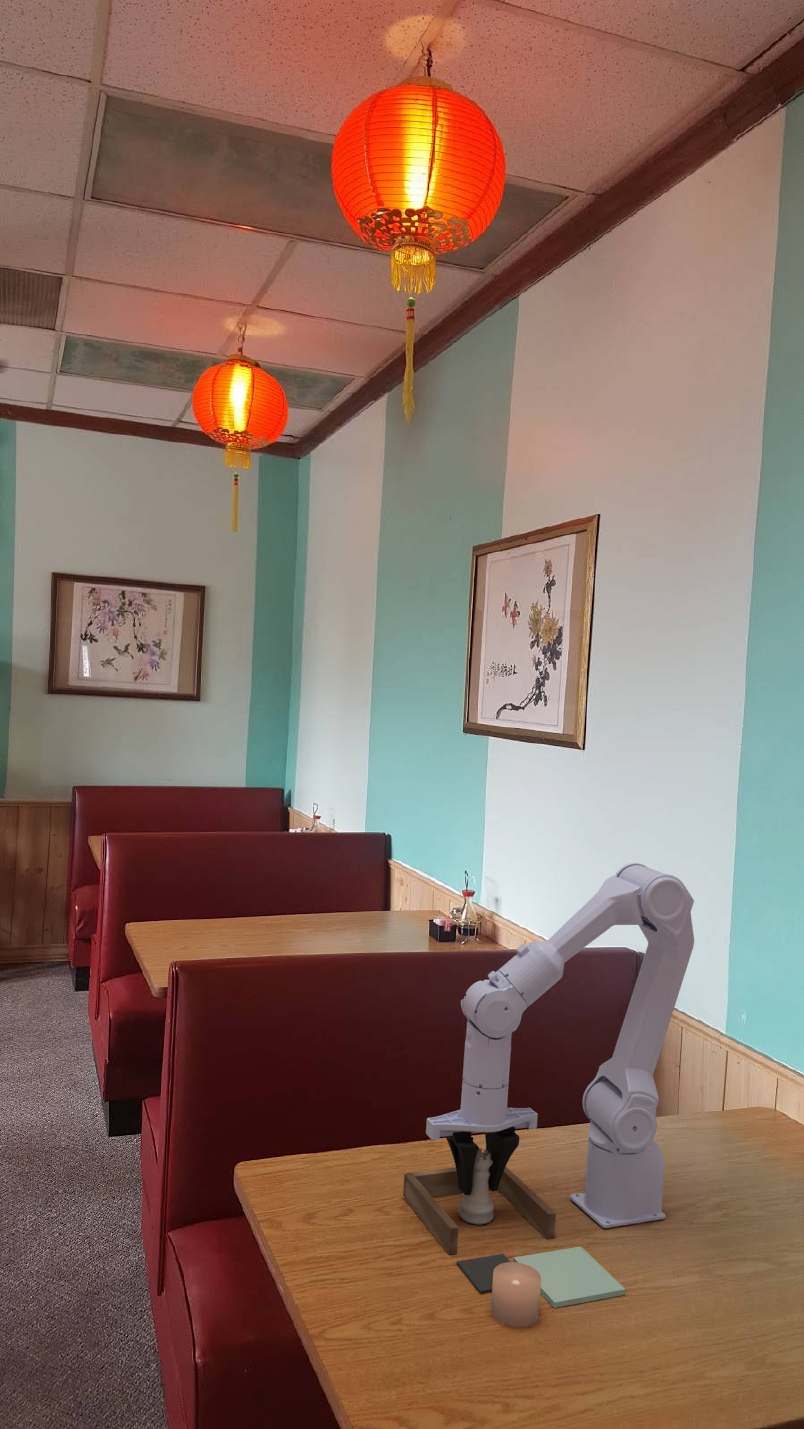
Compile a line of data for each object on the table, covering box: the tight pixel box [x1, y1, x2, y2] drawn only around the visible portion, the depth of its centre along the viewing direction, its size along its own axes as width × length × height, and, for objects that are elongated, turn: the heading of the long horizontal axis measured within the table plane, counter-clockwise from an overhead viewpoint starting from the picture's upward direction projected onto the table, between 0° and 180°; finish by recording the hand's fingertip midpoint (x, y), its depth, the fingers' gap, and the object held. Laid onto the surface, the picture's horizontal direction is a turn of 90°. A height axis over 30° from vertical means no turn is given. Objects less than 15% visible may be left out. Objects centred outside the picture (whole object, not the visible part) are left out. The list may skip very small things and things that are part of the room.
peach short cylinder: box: [490, 1261, 541, 1329], centre depth 105 cm, size 5×5×4 cm
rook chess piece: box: [458, 1147, 495, 1226], centre depth 125 cm, size 4×4×8 cm
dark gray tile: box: [456, 1253, 511, 1295], centre depth 112 cm, size 6×6×1 cm
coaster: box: [512, 1246, 626, 1309], centre depth 112 cm, size 9×9×1 cm
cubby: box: [402, 1166, 557, 1255], centre depth 125 cm, size 14×14×3 cm
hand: (478, 1189), depth 125 cm, fingers closed on rook chess piece, 3 cm apart
